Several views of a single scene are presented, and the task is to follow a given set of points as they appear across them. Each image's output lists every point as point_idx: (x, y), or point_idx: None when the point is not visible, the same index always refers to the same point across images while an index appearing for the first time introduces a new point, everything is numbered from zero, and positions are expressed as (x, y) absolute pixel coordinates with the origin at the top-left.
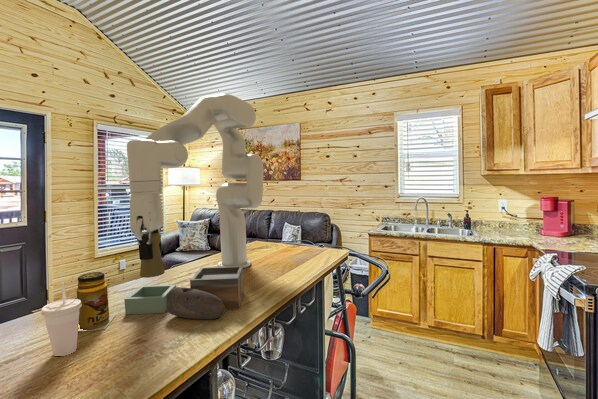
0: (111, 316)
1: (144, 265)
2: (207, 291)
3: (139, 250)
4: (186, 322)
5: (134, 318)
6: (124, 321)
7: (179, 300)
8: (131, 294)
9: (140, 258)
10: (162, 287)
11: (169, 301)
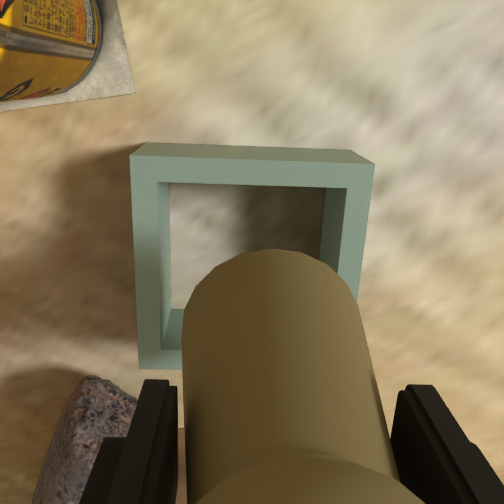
0: (118, 76)
1: (187, 360)
2: None
3: (121, 457)
4: (52, 435)
5: (97, 210)
6: (64, 174)
7: (40, 478)
8: (208, 167)
9: (143, 390)
10: None
11: (60, 423)
